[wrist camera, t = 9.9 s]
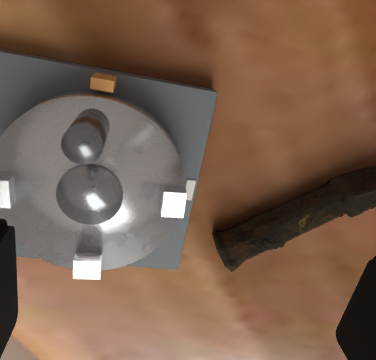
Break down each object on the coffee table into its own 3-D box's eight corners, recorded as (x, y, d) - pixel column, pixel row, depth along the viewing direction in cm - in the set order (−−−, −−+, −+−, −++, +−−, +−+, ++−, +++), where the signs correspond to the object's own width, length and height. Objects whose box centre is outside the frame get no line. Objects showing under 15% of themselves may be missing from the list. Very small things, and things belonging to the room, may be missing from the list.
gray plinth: (-9, 47, 27) (-39, 50, 22) (213, 89, 30) (225, 99, 26) (-6, 241, 33) (-29, 275, 29) (175, 258, 37) (180, 290, 32)
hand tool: (221, 255, 38) (231, 284, 34) (207, 227, 36) (217, 254, 32) (382, 186, 37) (414, 206, 33) (376, 154, 35) (409, 171, 31)
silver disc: (8, 247, 31) (-32, 313, 24) (-5, 79, 26) (-63, 97, 18) (171, 253, 34) (179, 314, 27) (192, 101, 28) (210, 125, 21)
